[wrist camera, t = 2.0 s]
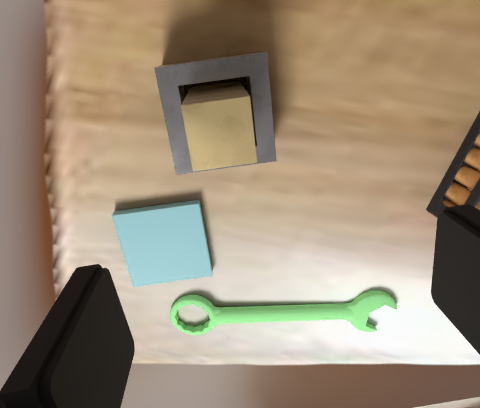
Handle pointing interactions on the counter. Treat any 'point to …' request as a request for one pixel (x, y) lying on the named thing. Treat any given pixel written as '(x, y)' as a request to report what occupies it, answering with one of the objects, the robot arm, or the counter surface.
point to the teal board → (164, 242)
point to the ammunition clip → (461, 176)
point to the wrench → (284, 312)
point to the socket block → (213, 70)
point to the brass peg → (219, 126)
